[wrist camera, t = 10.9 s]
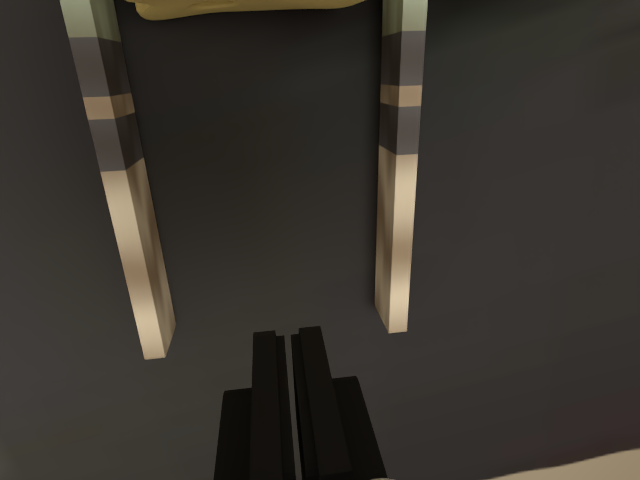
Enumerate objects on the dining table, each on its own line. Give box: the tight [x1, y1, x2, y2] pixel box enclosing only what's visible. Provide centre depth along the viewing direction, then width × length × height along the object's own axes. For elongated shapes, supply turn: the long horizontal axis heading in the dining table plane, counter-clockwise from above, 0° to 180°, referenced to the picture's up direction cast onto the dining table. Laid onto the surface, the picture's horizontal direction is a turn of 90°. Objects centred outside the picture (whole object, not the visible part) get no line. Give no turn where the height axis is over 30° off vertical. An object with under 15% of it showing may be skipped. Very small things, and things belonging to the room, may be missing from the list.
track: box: [60, 0, 428, 359], centre depth 21 cm, size 31×16×4 cm, turn 2°
